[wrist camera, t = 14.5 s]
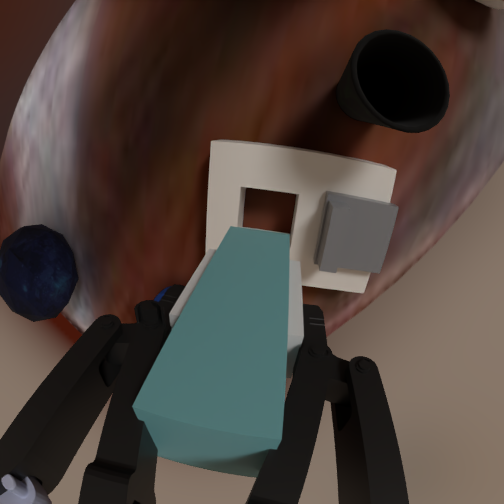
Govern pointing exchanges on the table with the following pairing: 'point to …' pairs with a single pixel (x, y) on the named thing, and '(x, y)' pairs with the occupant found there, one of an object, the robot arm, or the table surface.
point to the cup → (394, 83)
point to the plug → (225, 361)
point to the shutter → (353, 233)
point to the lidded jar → (493, 3)
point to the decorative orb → (37, 272)
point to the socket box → (297, 182)
